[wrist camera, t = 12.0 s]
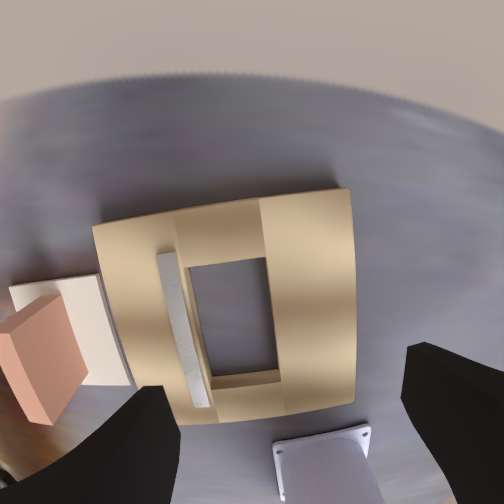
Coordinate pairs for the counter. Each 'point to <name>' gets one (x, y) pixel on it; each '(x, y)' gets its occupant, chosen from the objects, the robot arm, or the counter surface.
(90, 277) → the pad
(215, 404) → the gold flat square frame
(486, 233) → the counter surface
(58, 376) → the peach cuboid
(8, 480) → the multiport hub
